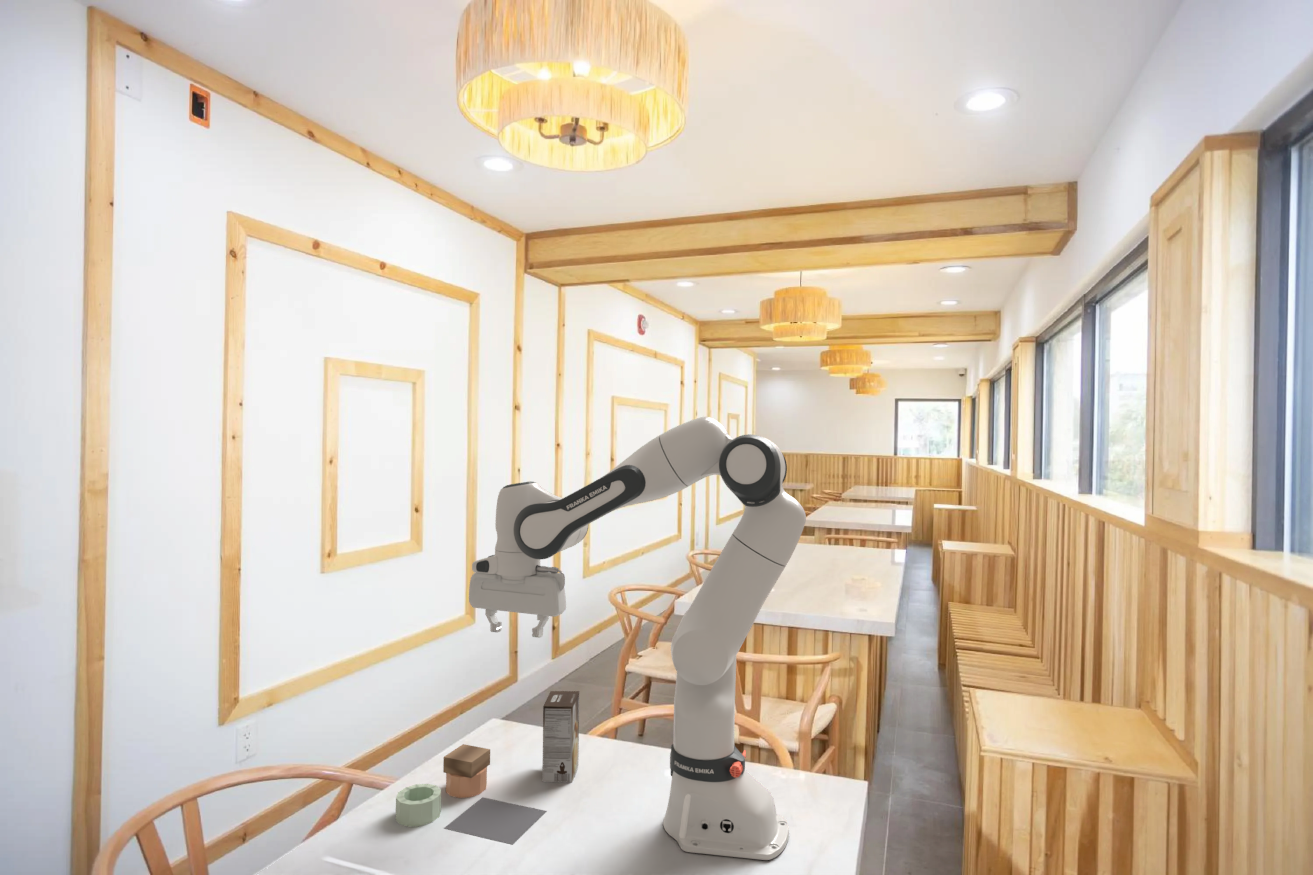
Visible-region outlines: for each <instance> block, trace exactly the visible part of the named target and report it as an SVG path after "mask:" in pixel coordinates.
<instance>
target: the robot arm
mask: <svg viewBox="0 0 1313 875" xmlns="http://www.w3.org/2000/svg"><path fill="white" fill-rule="evenodd" d="M787 473H788V465H787V461H786V458H785V455H784V454H783V452H782V451H781V448H779V446H778V445H776V443H775V442H773V441H772V440H770V439H769V438H767V437H764V436H761V435H757V434H742V435H740V436H739V435H738V436H736V437H735V438H733V437H732V436H730V434H729V433H728V431H727V430H726V428H725V427H724V425H723V424H722V423H720V422H719V421H718V420H717V419H715V418H713V417H711V416H700V417H698V418H695V419H691V420H689V421H686V422H684V423H682V424H679V425H676V426H675V427H672V428H671V429H668V430H667V431H665V432H662V433H661V434H659V435H657V436H656V437H654V438H653V439H651V440H649V441H648V442H646V443H645V444H644V445H642V446H640V447H639V448H638V449H637V450H635V451H634V452H633V453H632V454H630V455H629V456H628V457H626V458H625V459H624V460H623V461H622V462H620V463H619V464H618V465H616V466H615V467H614V468H612V470H610V471H608V472H607V473H606V474H604V475H603V476H602V477H600V478H598V479H596V480H594V481H592V482H591V483H588V484H587V485H585V486H583V487H582V488H579V489H578V490H576V491H574V492H572V493H570V494H569V495H567V496H565V497H561V496H558V495H556V494H554V493H551V492H550V491H548V490H547V489H545V488H543V487H542V485H540V484H539V483H538V482H535V481H524V482H517V483H511V484H507V485H505V486H503V487H502V488H501V489H500V490H499V492H498V495H497V496H498V497H497V500H496V509H495V523H494V524H495V531H496V538H497V540H496V543H495V547H494V554H492V555H488V557H484V558H480V559H478V560H475V561H473V562H472V563H471V571H473V574H472V575H471V577H470V580H469V581H470V582H469V588H468V603H469V604H470V606H471V608H473V609H481V610H482V609H483V610H485V616H486V618H487V620H488V622H489V624H490V626H489V628H490V629H489V630H490V632H491V633H500V632H501V631H502V621H498V618H497V615H496V613H498V611H501V612H509V613H519V614H527V615H536V620H537V621H538V623H537V626H535V627H532V629H531V632H532V634H531V636H532V638H537V639H540V638H542V637H543V635H544V627H545V626H546V624H547V622H548V621H549V618H550V617H558V616H560V615H562V614H563V613H564V612H565V611H566V608H567V600H566V599H567V598H566V590H565V585H566V576H565V573H564V572H563V571H562V570H560V569H559V567H556V566H545V565H541V560H546V559H549V558H551V557H553V556H555V555H556V554H558V553H560V552H562V551H565V550H567V549H569V548H572V547H575V546H576V545H578V544H579V543H580V542H582V540H584V538H585V537H586V535H587V533H588V530H589V524H592V523H594V522H595V521H597V520H599V519H600V518H602V517H605V516H607V515H608V514H610V513H612V512H614V511H616V510H619V509H622V508H625V507H628V506H633V505H635V504H636V505H637V504H641V503H647V502H652V501H656V500H659V499H663V498H666V497H669V496H672V495H673V494H676V493H679V492H681V491H683V490H685V489H686V488H688V487H691V486H692V485H693V484H696V483H697V482H699V481H701V480H703V479H705V478H707V477H710V476H720V477H721V480H722V481H723V483H724V484H725V485H726V487H727V488H728V490H730V491H731V493H733V494H734V496H736V498H737V499H738V500H739V501H740V502H741V504H742V505H743V506H744V510H743V514H742V516H741V518H740V520H739V522H738V524H737V525H736V527H735V529H734V530H733V532H732V534H731V535H730V537H729V539H728V541H727V542H726V544H725V545H724V547H723V549H722V550H721V551H720V552H721V553H720V554H719V555H718V557H717V559H716V561H715V562H714V564H713V566H712V568H711V570H709V572H708V575H707V576H706V578H705V580H704V582H703V583H702V585H701V587H700V589H699V591H698V592H697V594H696V596H695V597H694V599H693V601H692V603H691V604H690V606H689V608H688V609H687V610H686V611H685V613H684V614H683V615H682V617H681V619H680V622H679V623H678V626H676V627H677V628H676V630H675V632H674V633H673V636H672V638H671V643H670V655H671V661H672V663H673V667H674V668H675V670H676V675H675V676H676V678H675V687H674V688H675V689H674V699H673V700H674V701H673V737H672V738H673V739H672V740H673V743H672V744H671V746H670V753H669V754H670V755H669V768H670V777H671V784H670V790H669V797H668V802H667V807H666V811H665V814H664V817H663V822H662V825H663V828H664V830H665V831H666V833H667V834H668V835H669V836H671V838H672V839H674V840H675V841H676V842H677V843H678V845H679V847H680V849H681V850H682V851H683V852H686V853H694V854H695V853H696V854H702V855H703V854H706V855H714V856H724V857H732V858H733V857H734V858H741V859H742V858H744V859H751V860H752V859H753V860H763V861H768V860H770V861H771V860H772V859H773V860H774V859H775V858H776V857H779V855H780V854H782V852H783V851H784V850H785V848H786V846H787V843H788V841H789V837H790V827H789V823H788V821H787V818H785V816H783V815H781V814H778V813H777V810H776V809H777V808H776V802H775V800H774V796H773V794H772V792H771V791H770V790H769V789H768V788H767V787H766V786H765V785H763V783H761V781H759V780H757V779H756V778H755V777H754V776H753V775H752V774H751V773H750V772H749V771H748V770H746V757H747V756H746V755H747V753H746V752H747V750H746V749H744V750H743V752H740V750H739V749H738V748H737V747H736V745H735V718H736V717H735V714H736V712H735V710H736V708H735V707H736V683H737V677H736V676H737V675H736V674H737V654H738V653H739V652H740V649H741V647H742V645H743V644H744V642H745V640H746V638H747V636H748V634H749V633H750V630H751V629H752V627H753V625H754V623H755V621H756V619H757V617H758V616H759V614H760V612H761V609H762V607H763V605H764V604H765V602H766V600H767V598H768V597H769V595H770V593H771V592H772V590H773V588H774V587H775V585H776V583H777V582H778V580H779V578H780V577H781V575H782V574H783V571H784V570H785V568H786V567H787V565H788V563H789V562H790V559H791V558H792V555H793V553H794V552H795V550H796V548H797V545H798V543H799V541H800V539H801V536H802V533H803V531H804V528H805V524H806V521H807V516H806V515H807V514H806V512H805V509H804V507H803V506H802V505H801V503H800V502H799V501H798V500H797V499H796V498H795V497H793V496H792V495H790V494H788V493H787V492H786V491H785V488H784V485H783V483H784V481H785V480H786V477H787Z"/></svg>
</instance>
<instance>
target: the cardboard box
mask: <svg viewBox="0 0 1313 875" xmlns="http://www.w3.org/2000/svg"><path fill="white" fill-rule="evenodd" d="M442 765H443V766H442V768H443V770H442V771H443V774H444V773H445V774H446V773H449V774H454V775H458V776H463V777H468V778H472V777H474V776H475V775H476V774H478V773H479V772H480V771H482V770H483V769H484V768H486V767H487V768H488V766H490V765H491V749H490V748H486V747H481V746H479V747H478V746H474V745H469V744H464V743H463V744H461V745H460V746H458V747H457V748H455V749H454V750H452V751H451V752H449V753H447V754H446V755H444V756H443V764H442Z"/></svg>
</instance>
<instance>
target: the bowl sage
mask: <svg viewBox="0 0 1313 875" xmlns="http://www.w3.org/2000/svg"><path fill="white" fill-rule="evenodd" d="M441 811H442V789H441V788H440V787H439V786H438V785H436V784H431V783H417V784H413V785H409V786H405V787H404V788H403V789H401V790H400V791H397V795H396V797H395V821H396V823H398V824H399V826H404V827H409V828H411V827H412V828H413V827H422V826H426V825H428V824H431V823H433V822H435V821H436V820H438V818H439V817H440V816H441Z"/></svg>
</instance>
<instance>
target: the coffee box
mask: <svg viewBox="0 0 1313 875" xmlns="http://www.w3.org/2000/svg"><path fill="white" fill-rule="evenodd" d="M543 704H544V705H543V706H542V711H543V712H542V768H541V769H542V771H541V772H542V776H541V778H542V780H541V781H542V783H567V784H568V783H573V781H574V778H576V774H577V771H578V768H579V754H580V753H579V752H580V750H579V749H580V745H579V741H580V734H579V733H580V732H579V731H580V691H579V690H575V691H574V690H572V691H571V690H550V692H549V693H548V695H547V697H546V700H545V702H544V703H543Z"/></svg>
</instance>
